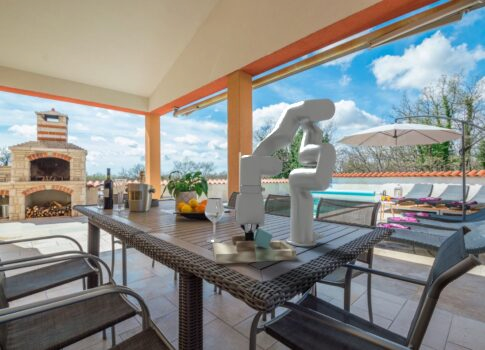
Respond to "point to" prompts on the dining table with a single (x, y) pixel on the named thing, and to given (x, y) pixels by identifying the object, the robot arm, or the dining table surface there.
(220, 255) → the board
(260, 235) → the teal cube
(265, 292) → the dining table surface
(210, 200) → the wineglass
